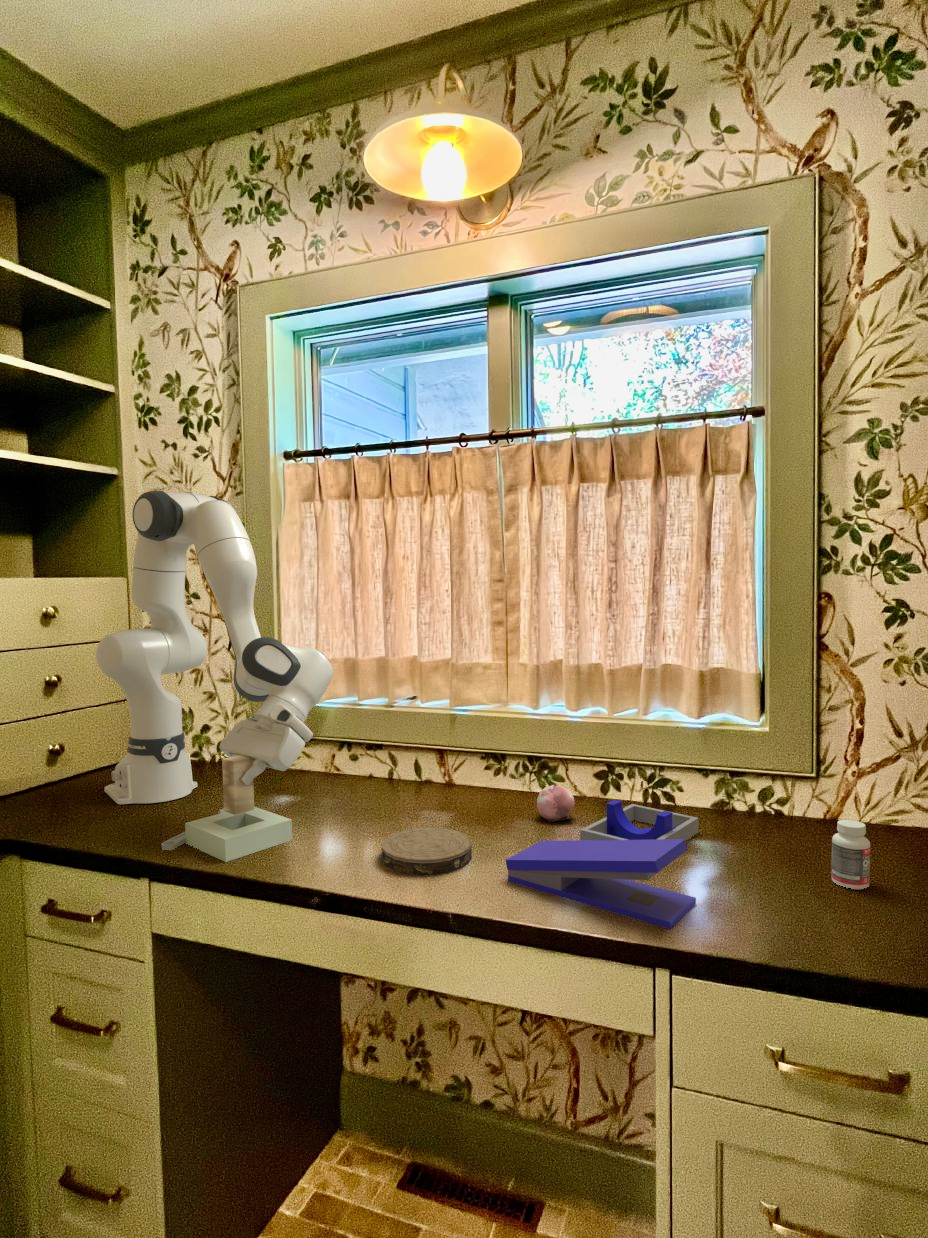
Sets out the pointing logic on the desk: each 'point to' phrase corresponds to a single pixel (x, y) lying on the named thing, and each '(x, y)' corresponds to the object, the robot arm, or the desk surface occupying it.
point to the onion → (555, 803)
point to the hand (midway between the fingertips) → (235, 780)
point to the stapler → (605, 875)
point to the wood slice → (426, 851)
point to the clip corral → (683, 823)
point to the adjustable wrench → (178, 839)
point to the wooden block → (237, 785)
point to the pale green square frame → (238, 833)
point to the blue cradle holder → (625, 829)
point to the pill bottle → (851, 855)
